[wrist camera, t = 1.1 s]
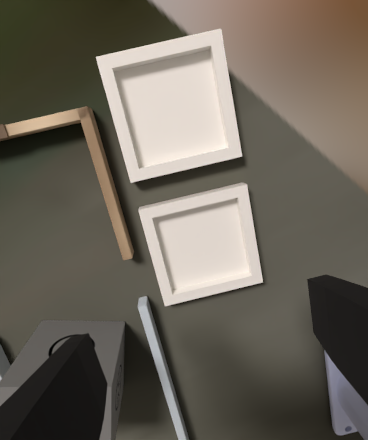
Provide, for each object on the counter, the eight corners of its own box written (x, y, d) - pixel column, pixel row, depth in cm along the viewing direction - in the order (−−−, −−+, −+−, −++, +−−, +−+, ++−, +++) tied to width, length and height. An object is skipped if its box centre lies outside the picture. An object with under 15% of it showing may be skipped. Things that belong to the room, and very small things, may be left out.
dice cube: (42, 319, 17) (-5, 387, 12) (125, 320, 18) (111, 386, 13) (46, 386, 18) (6, 470, 14) (123, 385, 19) (110, 468, 14)
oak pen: (91, 108, 14) (86, 104, 13) (133, 251, 16) (131, 258, 15) (-102, 152, 14) (-124, 153, 13) (-35, 291, 16) (-48, 302, 15)
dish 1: (217, 35, 14) (221, 28, 13) (238, 156, 15) (242, 156, 15) (99, 62, 14) (95, 57, 13) (132, 181, 15) (130, 182, 15)
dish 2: (242, 182, 16) (246, 184, 15) (258, 276, 17) (263, 282, 17) (139, 207, 16) (138, 210, 15) (164, 299, 17) (165, 306, 16)
